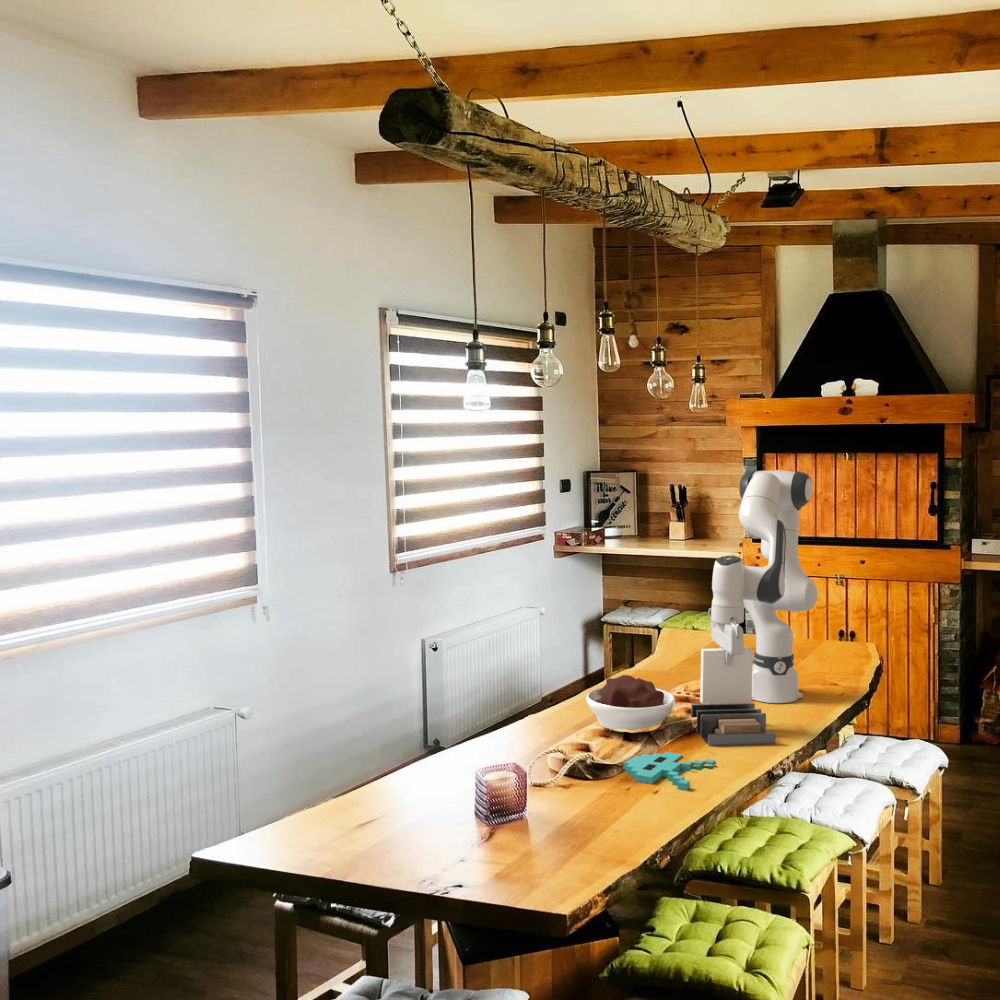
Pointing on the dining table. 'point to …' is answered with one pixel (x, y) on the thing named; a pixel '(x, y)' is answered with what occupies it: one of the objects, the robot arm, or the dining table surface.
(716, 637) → the robot arm
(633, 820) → the dining table surface
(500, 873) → the dining table surface
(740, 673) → the tall sheet
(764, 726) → the rack
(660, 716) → the bowl of chocolate
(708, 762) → the alien figure
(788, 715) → the dining table surface
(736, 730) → the offcut upper
